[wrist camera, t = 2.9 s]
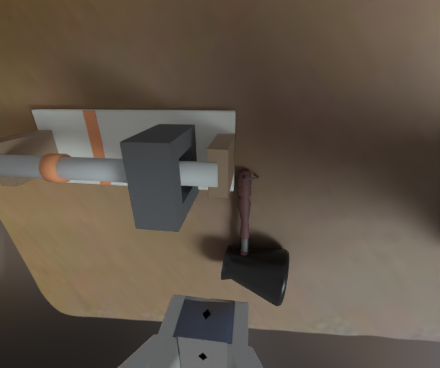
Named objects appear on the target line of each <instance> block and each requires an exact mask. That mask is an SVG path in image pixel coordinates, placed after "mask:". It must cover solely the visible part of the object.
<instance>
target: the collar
mask: <svg viewBox="0 0 440 368" xmlns="http://www.w3.org/2000/svg"><path fill="white" fill-rule="evenodd" d="M120 148H121V153H122V158H123V163H124V169H125V174H126V179H127V184H128V189H129V195H130V200H131V205H132V210H133V216H134V221H135V226H136V229H148V230H161V231H174V232H179V230H180V228H181V226H182V224H183V222H184V220H185V218H186V216H187V214H188V212H189V210H190V208H191V206H192V204H193V202H194V200H195V198H196V196H197V194H198V186H181V180H180V168H179V161H196V162H197V155H196V136H195V125H192V124H158V125H155V126H153V127H151V128H149V129H147V130H145V131H142V132H140V133H138V134H136V135H134V136H131V137H129V138H127V139H125V140H123V141H121V142H120Z"/></svg>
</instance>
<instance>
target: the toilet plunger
mask: <svg viewBox="0 0 440 368" xmlns="http://www.w3.org/2000/svg"><path fill="white" fill-rule="evenodd" d="M254 176H257V177H256V178H251V173H250V171H249V170H241V171H240V172H239V177H238V184H239V187H238V195H239V196H240V199H239V201H238V207H239V212H240V217H241V229H240V238H241V250H236V249H234V248H233V247H232V246H230V245H229V246H228V248H227V251H226V254H225V257H224V261H223V266H222V272H221V280H226V279H232V280H234V281H235V282H237V283H239V284H240V285H242V286H244V287H245V288H247V289H249V290H250V291H252V292H254V293H255V294H257V295H259V296H260V297H262V298H263V299H265V300H267V301H268V302H270V303H272V304H273V305H275V306H279V305H281V304H282V302H283V299H284V295H285V290H286V284H287V278H288V270H289V252H288V251H287V250H286V249H267V250H249V249H248V238H249V224H248V219H249V212H250V205H251V202H250V200H249V196H250V195H251V187H250V184H251V179H258V178H259V176H258V175H254Z"/></svg>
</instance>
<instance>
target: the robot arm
mask: <svg viewBox="0 0 440 368" xmlns="http://www.w3.org/2000/svg"><path fill="white" fill-rule="evenodd" d="M118 368H263V366H262V365H261V363H260V361H259V359H258V357H257V355H256V354H255V352H254V350H253V348H252V347H249V346H248V302H239V301H232V300H221V299H206V298H198V297H191V296H183V295H173V297H172V298H171V301H170V303H169V306H168V309H167V311H166V314H165V317H164V319H163V322H162V325H161V328H160V330H159V333H158V335H153V336H152V337H151V338H150V339H149V340H147V341H146V342H145V343H144V344H143V345H142V346H141V347H140V348H139V349H138V350H137V351H135V352H134V353H133V354H132V355H131V356H130V357H129V358H128V359H127V360H126V361H125V362H124V363H122V364H121V365H120V366H119V367H118Z"/></svg>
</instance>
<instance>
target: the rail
mask: <svg viewBox="0 0 440 368" xmlns="http://www.w3.org/2000/svg"><path fill="white" fill-rule="evenodd" d="M32 113H33V116H34V119H35V122H36V125H37V128H38V130H35V131H30V132H26V133H22V134H17V135H13V136H9V137H4V138H0V182H1V185H2V186H19V185H21V184H24V183H26V182H28V181H30V180H33V179H35V178H43V179H45V180H46V181H49V182H69V183H88V184H101V185H125V186H128V184H127V179H126V174H125V169H124V163H123V158H122V153H121V148H120V142H121V141H123V140H125V139H127V138H129V137H131V136H134V135H136V134H138V133H140V132H142V131H145V130H147V129H149V128H151V127H153V126H155V125H158V124H192V125H195V136H196V155H197V162H196V161H179V168H180V180H181V186H198V189H200V190H208V197H209V198H227V199H228V197H229V192H230V191H234V174H235V120H236V110H111V109H35V110H32Z"/></svg>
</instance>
